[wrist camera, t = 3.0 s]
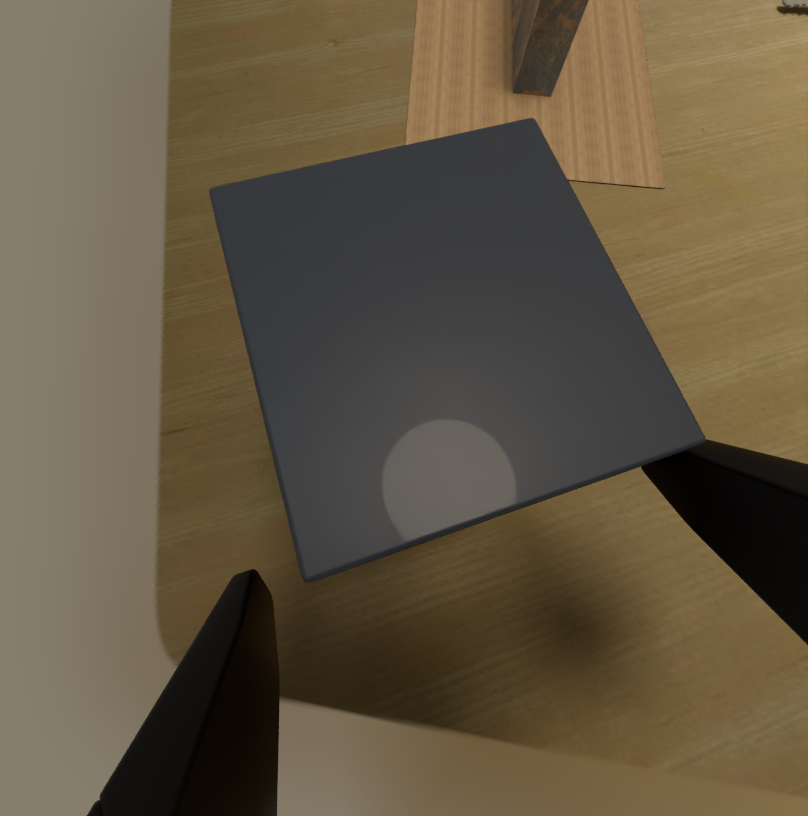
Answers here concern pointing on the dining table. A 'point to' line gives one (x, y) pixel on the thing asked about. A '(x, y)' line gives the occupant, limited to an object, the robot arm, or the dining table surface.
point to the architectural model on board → (540, 80)
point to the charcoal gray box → (437, 342)
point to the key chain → (795, 3)
